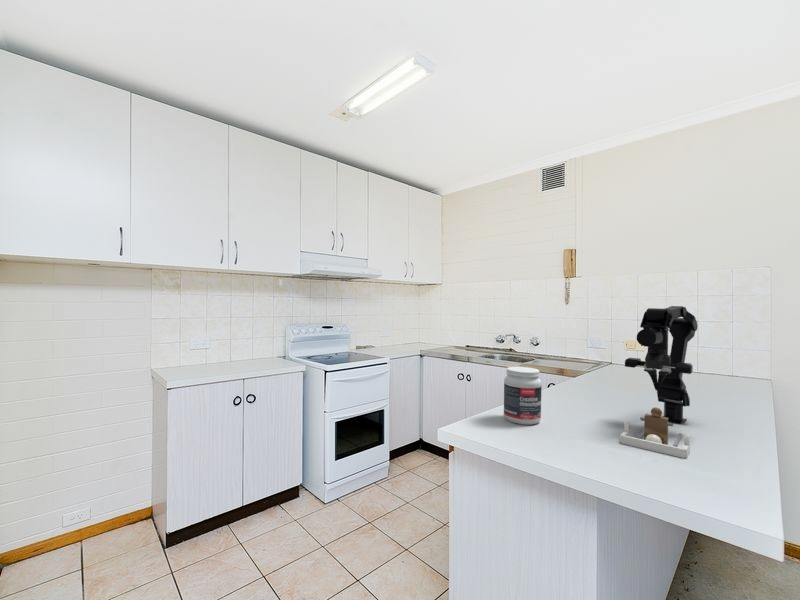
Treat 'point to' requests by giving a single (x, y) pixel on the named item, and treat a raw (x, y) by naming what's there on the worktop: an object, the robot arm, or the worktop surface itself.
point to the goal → (655, 444)
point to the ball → (653, 438)
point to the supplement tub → (522, 395)
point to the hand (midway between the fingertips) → (657, 390)
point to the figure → (656, 425)
